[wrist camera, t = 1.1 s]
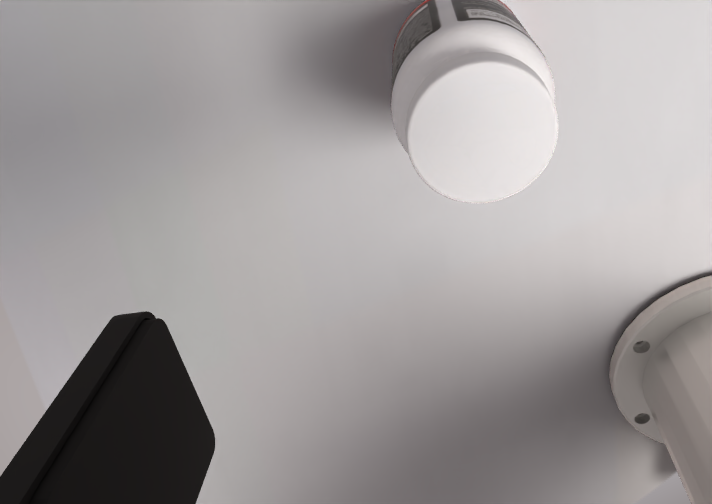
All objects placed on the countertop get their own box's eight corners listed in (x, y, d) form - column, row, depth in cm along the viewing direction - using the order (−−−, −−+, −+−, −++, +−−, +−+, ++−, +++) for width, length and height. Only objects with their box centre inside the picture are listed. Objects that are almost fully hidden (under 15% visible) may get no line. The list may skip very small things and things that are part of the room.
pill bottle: (420, 134, 30) (425, 241, 22) (372, 20, 27) (357, 90, 19) (539, 88, 28) (594, 183, 20) (501, -38, 26) (545, 10, 17)
